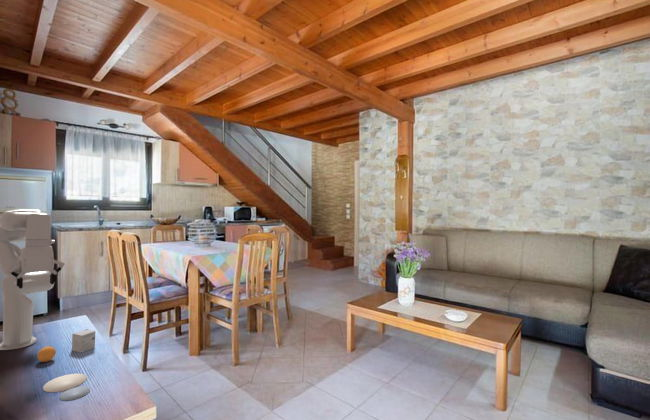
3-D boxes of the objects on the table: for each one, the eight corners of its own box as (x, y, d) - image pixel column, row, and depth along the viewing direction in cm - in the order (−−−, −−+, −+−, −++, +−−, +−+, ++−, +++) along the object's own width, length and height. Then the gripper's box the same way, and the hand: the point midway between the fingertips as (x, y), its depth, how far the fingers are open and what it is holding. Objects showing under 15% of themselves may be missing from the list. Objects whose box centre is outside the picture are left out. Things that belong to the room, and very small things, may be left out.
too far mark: (56, 394, 106) (56, 393, 106) (85, 384, 112) (85, 383, 112) (63, 403, 101) (63, 403, 101) (93, 392, 107) (93, 392, 107)
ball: (35, 361, 128) (35, 347, 128) (53, 356, 132) (53, 343, 132) (39, 365, 124) (39, 351, 124) (57, 360, 129) (57, 346, 129)
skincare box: (80, 353, 136) (81, 335, 136) (71, 350, 138) (71, 333, 138) (95, 347, 142) (95, 330, 142) (86, 345, 144) (86, 328, 144)
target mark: (38, 383, 112) (38, 383, 112) (80, 370, 121) (80, 370, 121) (48, 396, 105) (48, 395, 105) (91, 381, 114) (91, 381, 114)
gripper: (62, 241, 139) (61, 281, 139) (6, 244, 125) (5, 288, 125) (67, 243, 134) (66, 283, 134) (10, 245, 121) (8, 291, 121)
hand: (36, 285), depth 130 cm, fingers open, 9 cm apart
